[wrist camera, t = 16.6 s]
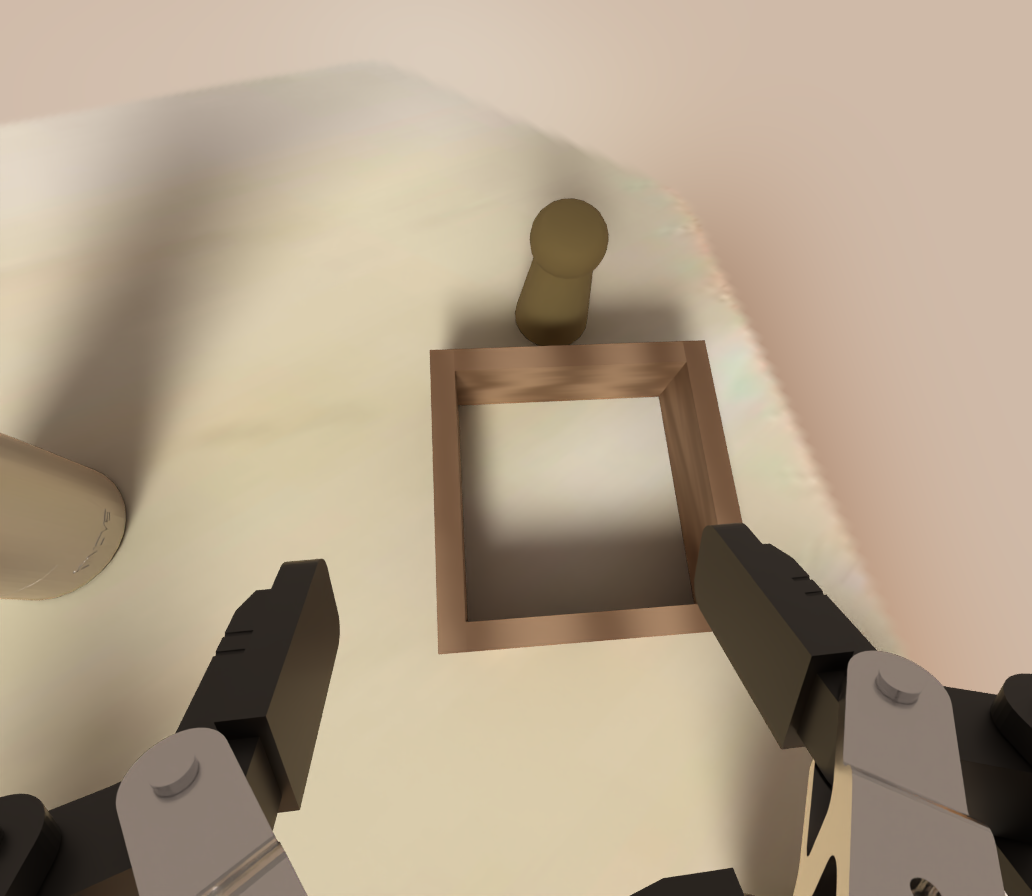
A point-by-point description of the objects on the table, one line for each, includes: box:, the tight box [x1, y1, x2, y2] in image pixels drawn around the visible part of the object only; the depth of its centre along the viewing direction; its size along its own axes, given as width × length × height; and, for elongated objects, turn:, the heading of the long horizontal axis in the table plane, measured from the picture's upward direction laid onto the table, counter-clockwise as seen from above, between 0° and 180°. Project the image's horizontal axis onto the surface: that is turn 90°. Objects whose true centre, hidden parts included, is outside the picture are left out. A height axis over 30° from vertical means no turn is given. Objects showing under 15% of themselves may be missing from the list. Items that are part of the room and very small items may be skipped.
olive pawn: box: [515, 199, 608, 346], centre depth 39 cm, size 6×6×11 cm
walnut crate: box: [430, 340, 742, 654], centre depth 36 cm, size 19×19×6 cm
